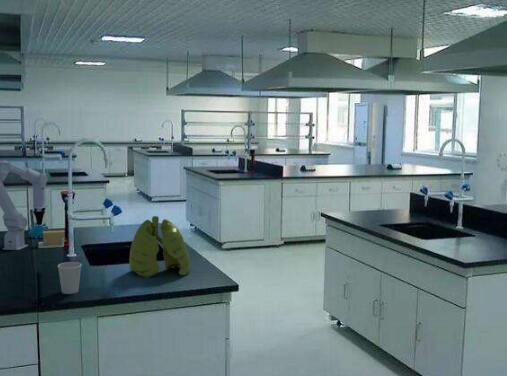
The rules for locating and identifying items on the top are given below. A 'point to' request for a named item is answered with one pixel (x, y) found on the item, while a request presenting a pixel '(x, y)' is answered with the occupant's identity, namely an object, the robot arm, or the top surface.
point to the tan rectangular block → (53, 237)
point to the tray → (50, 245)
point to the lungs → (148, 247)
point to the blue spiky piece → (38, 230)
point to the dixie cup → (69, 276)
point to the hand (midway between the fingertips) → (39, 223)
